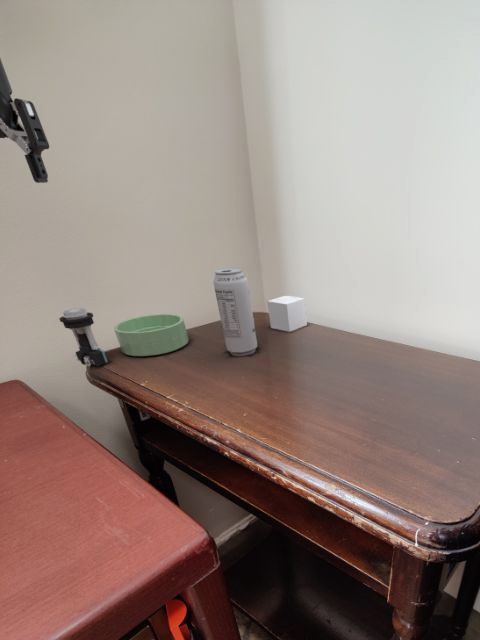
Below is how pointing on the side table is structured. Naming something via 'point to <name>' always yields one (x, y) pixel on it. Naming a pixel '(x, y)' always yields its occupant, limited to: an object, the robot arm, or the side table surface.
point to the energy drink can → (235, 311)
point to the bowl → (151, 334)
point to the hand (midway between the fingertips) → (20, 183)
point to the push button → (84, 336)
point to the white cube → (287, 313)
